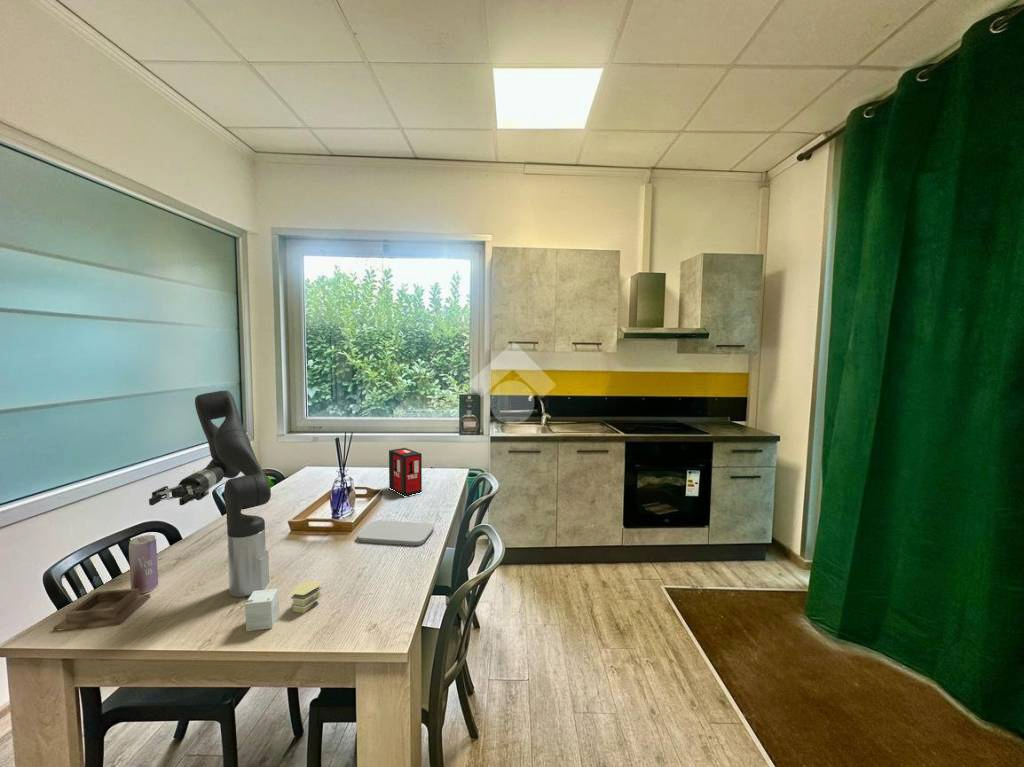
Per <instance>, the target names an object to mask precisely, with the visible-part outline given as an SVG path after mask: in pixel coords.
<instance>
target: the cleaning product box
mask: <svg viewBox="0 0 1024 767" xmlns="http://www.w3.org/2000/svg"><path fill="white" fill-rule="evenodd" d="M422 457H423V456H422V453H421V452H418V451H415V450H412V449H409V448H406V447H402V448H394V449H389V450H388V477H389V479H388V480H389V482H388V483H389V484H388V486H389V488H391V489H393V490H395V491H396V492H398V493H400V494H402V495H404V496H409V495H412V494H416V493H420V492H423V490H422V489H423V488H422V486H423V485H422V483H423V482H422V481H423V477H422V475H423V474H422V473H423V472H422V465H423V464H422V462H423V460H422V459H423V458H422ZM389 488H388V489H389ZM396 492H395V493H396ZM398 493H397V494H398ZM400 494H399V495H400ZM402 495H401V496H402ZM404 496H403V497H404ZM409 497H410V496H409Z"/></svg>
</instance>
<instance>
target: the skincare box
mask: <svg viewBox="0 0 1024 767" xmlns="http://www.w3.org/2000/svg"><path fill="white" fill-rule="evenodd" d="M279 594H280V593H279V588H271V589H264V590H258V591H253V593H252V594H251V595H249V598H248V599H247V600H246V601H245V603H244V612H245V615H244V616H245V629H246V630H245V631H246V632H252V631H253V632H255V631H261V630H269V629H273V627H274V626H275V624H276V622H277V620H278V618H279V617H280V614H281V612H280V596H279Z"/></svg>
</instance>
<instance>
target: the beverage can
mask: <svg viewBox="0 0 1024 767" xmlns="http://www.w3.org/2000/svg"><path fill="white" fill-rule="evenodd" d="M128 557H129V558H128V559H129V575H130V578H129V579H130V589H136V588H139V595H145V594H148V593H149V592H151V591H153V590H155V589H156V588H157V587H158V585H159V572H158V570H159V568H158V549H157V539H156V536H155V534H154V535H153V534H147V535H141V536H137V537H135V538H132V539H131V540H129V544H128Z"/></svg>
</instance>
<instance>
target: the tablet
mask: <svg viewBox="0 0 1024 767" xmlns="http://www.w3.org/2000/svg"><path fill="white" fill-rule="evenodd" d="M434 529H435V525H434V524H432V523H429V522H428V523H427V522H413V521H412V522H411V521H393V520H382V519H381V520H380V519H379V520H373V521H371V522H369V523H368V524H367V525H366V526H365V527H364V528H362V529H361V530H360V531H359V532H358V533H357V534H356V538H357V539H358V541H359V542H360V543H373V544H385V543H390V544H389V545H400V544H408V545H407V546H414V545H417V546H421V545H423V544H424V543H425V542H426V541H427V539H429V536H430V535H431V534H432V532H433V531H434Z"/></svg>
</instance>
